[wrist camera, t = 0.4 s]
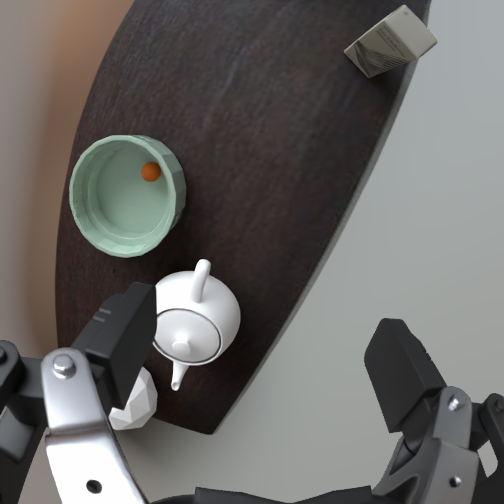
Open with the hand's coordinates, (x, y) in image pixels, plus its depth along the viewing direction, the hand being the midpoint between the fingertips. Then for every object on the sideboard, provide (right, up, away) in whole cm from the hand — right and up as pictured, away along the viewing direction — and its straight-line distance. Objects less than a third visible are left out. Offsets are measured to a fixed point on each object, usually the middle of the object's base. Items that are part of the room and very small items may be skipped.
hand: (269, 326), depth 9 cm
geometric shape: (-25, -21, +40) cm, 51 cm away
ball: (-13, +13, +23) cm, 30 cm away
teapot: (-9, -6, +33) cm, 35 cm away
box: (+14, +28, +19) cm, 37 cm away
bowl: (-17, +11, +26) cm, 33 cm away
